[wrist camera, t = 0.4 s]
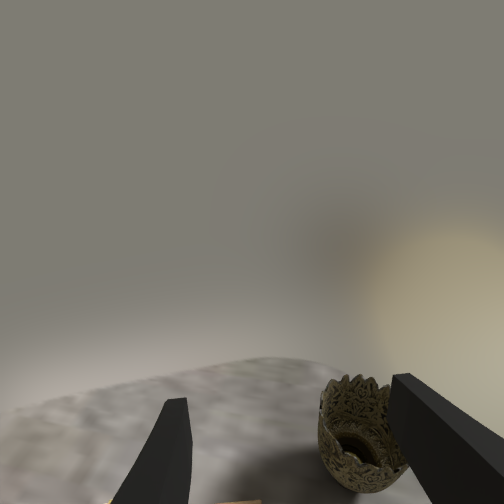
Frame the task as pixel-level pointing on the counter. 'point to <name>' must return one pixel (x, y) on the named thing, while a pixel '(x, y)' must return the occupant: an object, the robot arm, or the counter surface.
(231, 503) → the board
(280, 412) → the counter surface
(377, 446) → the cup
